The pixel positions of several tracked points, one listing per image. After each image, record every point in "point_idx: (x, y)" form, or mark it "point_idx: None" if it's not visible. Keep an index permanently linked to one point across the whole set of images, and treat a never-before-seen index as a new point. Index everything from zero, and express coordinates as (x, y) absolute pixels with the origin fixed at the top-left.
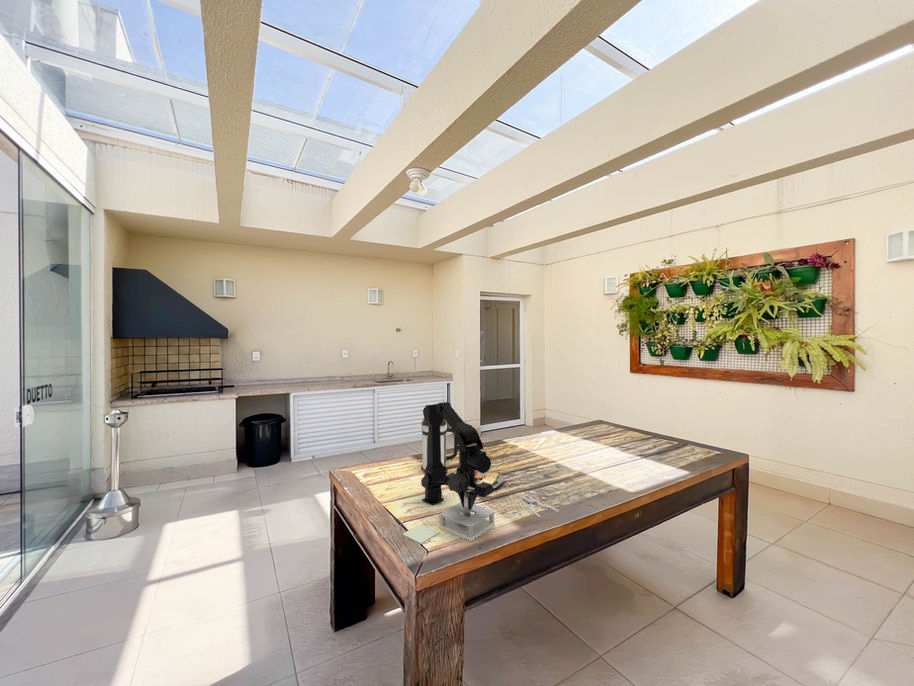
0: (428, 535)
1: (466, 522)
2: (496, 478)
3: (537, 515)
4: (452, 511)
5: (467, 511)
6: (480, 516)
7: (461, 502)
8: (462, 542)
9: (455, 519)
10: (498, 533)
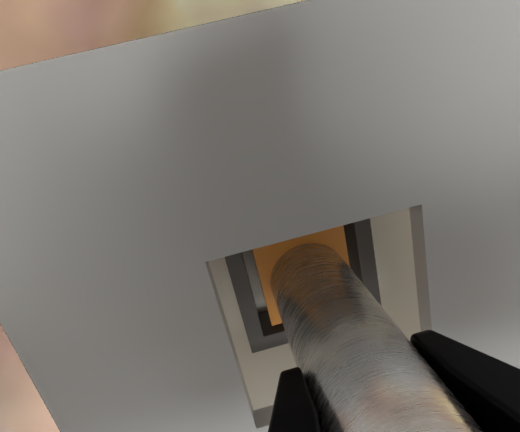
0: None
1: (66, 127)
2: None
3: None
4: (506, 173)
5: (307, 327)
6: (123, 404)
7: (512, 371)
8: (55, 5)
9: (276, 34)
10: (27, 392)
